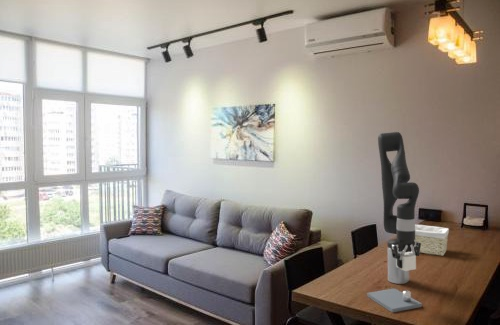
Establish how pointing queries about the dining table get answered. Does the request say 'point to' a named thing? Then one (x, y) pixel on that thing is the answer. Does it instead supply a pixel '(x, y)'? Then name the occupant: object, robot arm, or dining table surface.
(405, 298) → the stub
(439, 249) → the storage basket
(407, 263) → the cream rounded cube
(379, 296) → the base plate
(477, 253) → the dining table surface
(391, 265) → the robot arm
